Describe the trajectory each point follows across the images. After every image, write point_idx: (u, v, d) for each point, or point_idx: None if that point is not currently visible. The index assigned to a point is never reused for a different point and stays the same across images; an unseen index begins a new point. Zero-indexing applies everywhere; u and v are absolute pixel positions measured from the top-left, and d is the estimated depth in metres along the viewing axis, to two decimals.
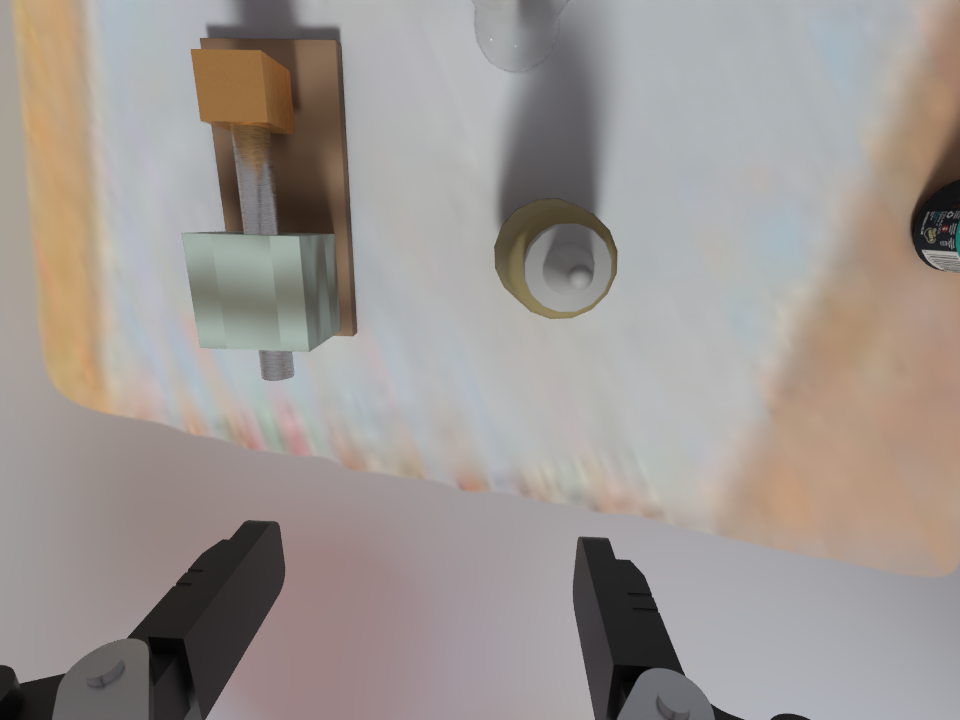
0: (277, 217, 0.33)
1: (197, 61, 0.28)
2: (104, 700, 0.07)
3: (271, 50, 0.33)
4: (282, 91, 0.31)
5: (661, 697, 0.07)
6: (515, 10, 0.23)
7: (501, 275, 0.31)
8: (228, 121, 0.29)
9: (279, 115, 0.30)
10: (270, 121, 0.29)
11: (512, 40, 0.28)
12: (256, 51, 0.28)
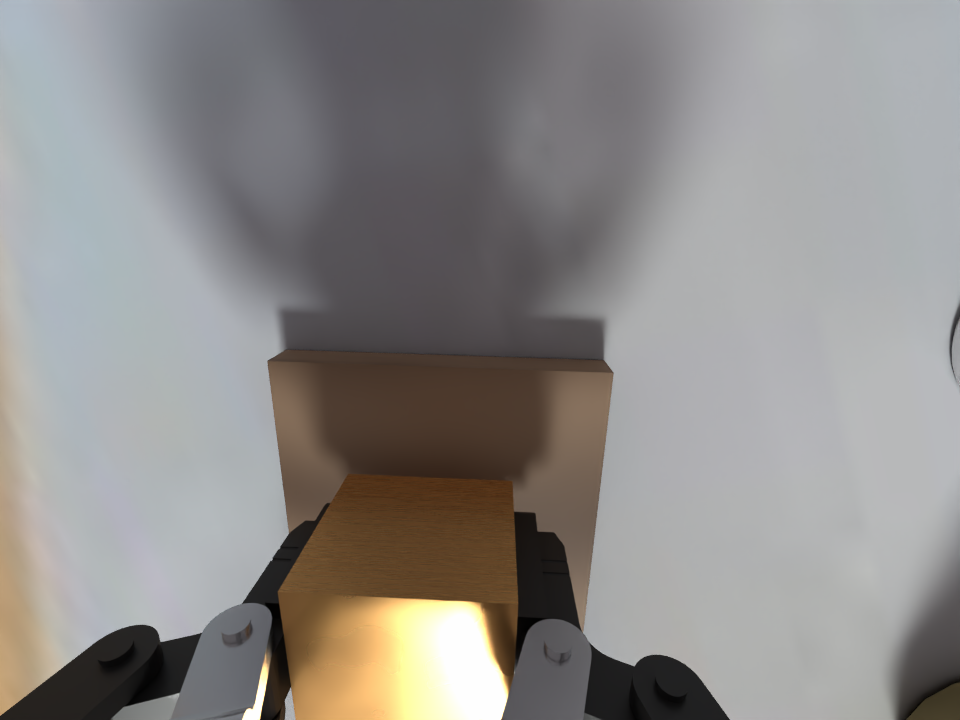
0: None
1: (297, 620, 0.08)
2: (229, 659, 0.08)
3: (445, 389, 0.13)
4: None
5: (546, 641, 0.08)
6: None
7: None
8: None
9: None
10: None
11: None
12: (504, 607, 0.08)
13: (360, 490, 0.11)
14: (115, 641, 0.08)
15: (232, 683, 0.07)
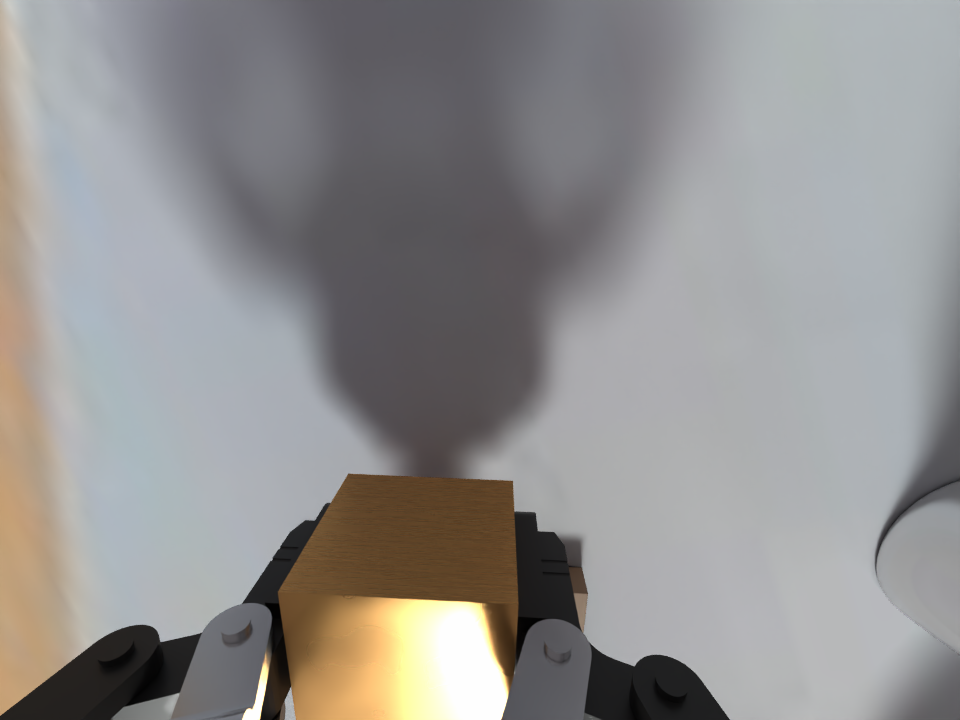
0: None
1: (297, 621, 0.08)
2: (228, 659, 0.08)
3: None
4: None
5: (546, 641, 0.08)
6: None
7: None
8: None
9: None
10: None
11: None
12: (504, 608, 0.08)
13: (360, 490, 0.11)
14: (115, 641, 0.08)
15: (232, 683, 0.07)
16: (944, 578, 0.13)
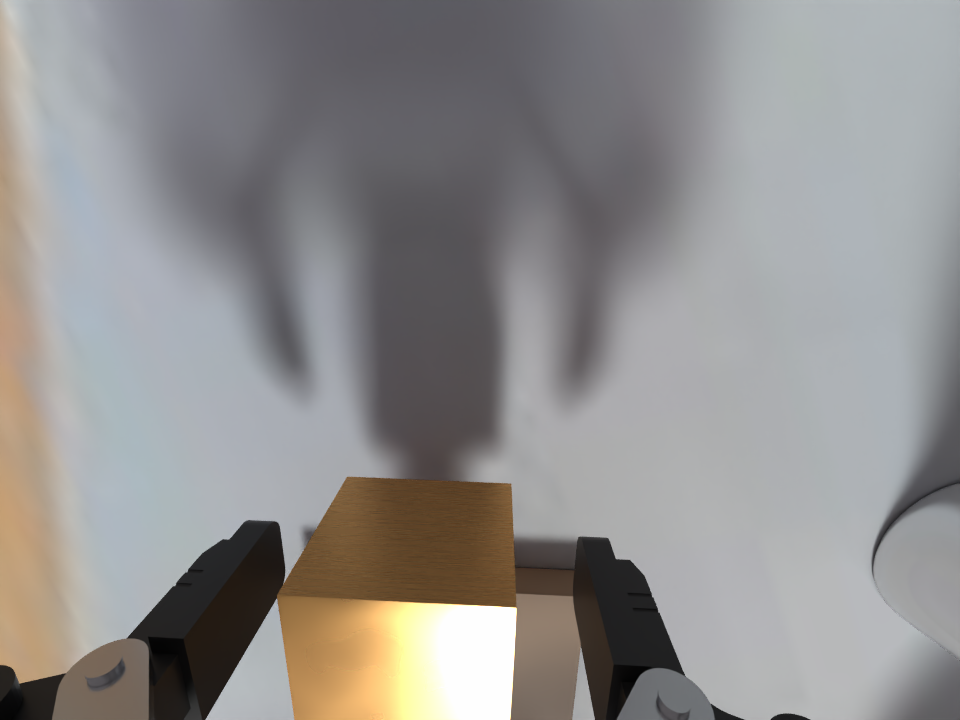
0: None
1: (296, 624, 0.08)
2: (104, 700, 0.07)
3: None
4: None
5: (661, 697, 0.07)
6: None
7: None
8: None
9: None
10: None
11: None
12: (502, 611, 0.08)
13: (359, 493, 0.11)
14: None
15: None
16: (940, 581, 0.14)
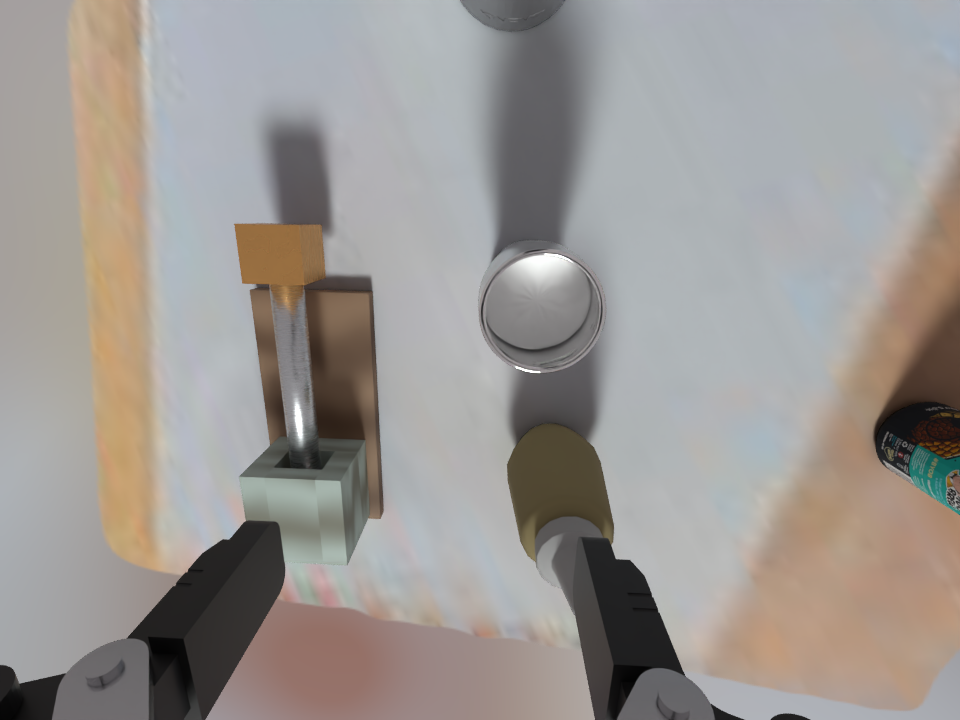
0: (309, 355, 0.35)
1: (240, 234, 0.30)
2: (103, 701, 0.07)
3: (312, 300, 0.38)
4: (316, 247, 0.33)
5: (661, 697, 0.07)
6: None
7: (514, 508, 0.36)
8: (267, 283, 0.32)
9: (313, 271, 0.33)
10: (306, 282, 0.32)
11: None
12: (294, 226, 0.30)
13: (266, 223, 0.33)
14: None
15: None
16: None
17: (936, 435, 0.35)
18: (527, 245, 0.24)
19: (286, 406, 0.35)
